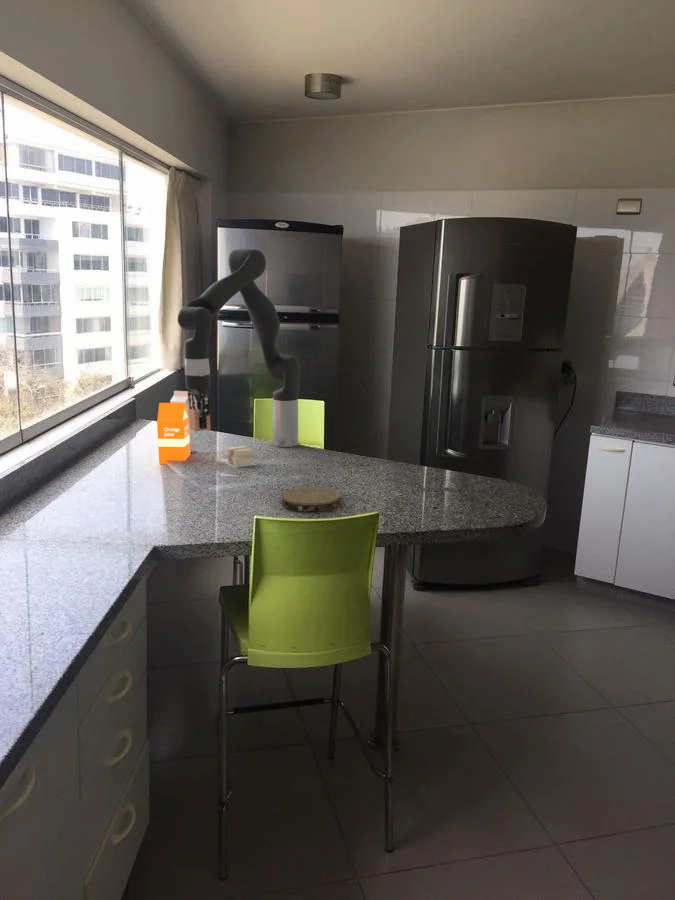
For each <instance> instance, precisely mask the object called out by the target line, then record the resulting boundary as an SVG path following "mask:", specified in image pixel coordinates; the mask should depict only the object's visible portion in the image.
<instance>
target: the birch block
mask: <svg viewBox="0 0 675 900" xmlns="http://www.w3.org/2000/svg"><path fill="white" fill-rule="evenodd" d="M227 460H228V461H227V462H228V463H230V464H232V465H233V466H235V467H236V466H243V465H251V464H253V463H254V462H253V449H252V448H251V447H248V446H247V445H240V446H232V447H231V446H230V447H227ZM252 462H253V463H252ZM251 466H252V465H251ZM243 467H244V466H243ZM236 468H237V467H236Z"/></svg>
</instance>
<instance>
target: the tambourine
mask: <svg viewBox="0 0 675 900" xmlns="http://www.w3.org/2000/svg"><path fill="white" fill-rule="evenodd" d="M340 503H341V493H340V492H339V491H338V490H336V489H333V488H328V487H325V486H324V487H322V486H302V487H301V486H300V487H294V488H290V489H287V490H285V491H284V492H282V494H281V505H282V507H283V508H284V509H285V510H288V511H290V512H295V513H300V514H320V513H326V512H331V511H334V510H336V509H338V508H339V507H340V506H341V504H340Z"/></svg>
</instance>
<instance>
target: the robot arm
mask: <svg viewBox="0 0 675 900" xmlns="http://www.w3.org/2000/svg"><path fill="white" fill-rule="evenodd" d="M266 266H267V260H266V257H265V254H264V253H263V252H262V251H261V250H259V249H255V248H237V249H234V250H231V251H230V253H229V255H228V268H229V271H230V274H228V275H226V276H225V277H223V278H220V279H218V280H217V281H215V282H214V283H213V284H211V285H210V286H209V287H207V288H206V290H205V291H204V292H203V293H201V295H200V296H199V297H198V296H197V297H196V298H195V299H193V300H191V301H190V302H188V303H186V304H185V305H184V306H183V307H181V308H180V310H179V312H178V313H177V323H178V325H179V327H180V328H181V329H183V330H186V331H194V334H193V337H192V338H191V337H190V338H188V339H186V340H185V341H184V379H185V388H186V389H187V390H189V391H188V401H189V409H190V410H191V409H196V410H198V414H199V428H200V429H206V428H207V419H206V417H207V416H209V414H210V415H211V411H210V410H211V397H209V396H207V393H206V390H207V389H210V388H211V369H210V361H209V360H210V359H209V346H208V345H209V340H210V336H211V332H212V326H213V317H212V316H213V315H215V314H217V313H218V312H219V311H220V310H221V309H222V308H223V307H224V306H225V305H226V304H227V303H228V302H229V301H230V300H231V299H232V298H233V297H234V296H235V295H237V294H238V293H239V292H240V294H241V297H242V299H243V302H244V304H245V306H246V309H247V311H248V315H249V318H250V321H251V323H252V326H253V328H254V331H255V333H256V336H257V339H258V341H259V344H260V348H261V350H262V351H261V352H262V355H263V359H264V363H265V366H266V369H267V372H268V375H269V377H270V378H272V380H275V381H282V382H283V387H281V388H279V389H276V390H273V392H272V431H273V434H272V435H273V437H272V438H273V439H272V440H273V441H272V442H273V446H275V447H281V448H292V447H296V446H298V445H299V392H300V386H301V385H300V382H301V381H300V379H301V365H300V361H299V358H298V357H297V356H295V355H284V354H283V355H282V354H280V353H279V350H278V347H277V338H278V336H279V331H280V326H281V322H280V318H279V315H278V312H277V309H276V307H275V305H274V304H273V302H272V301H271V300H270V299H269V297H268V296H267V295H266V294H265V293H264V292H263V291H262V290H261V289H260V288H259V287H258V286H257V284H256V282H255V281H256V280H257V279H258V278H260V277H261V276H262V275H263V274H264V272H265V271H266Z"/></svg>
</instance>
